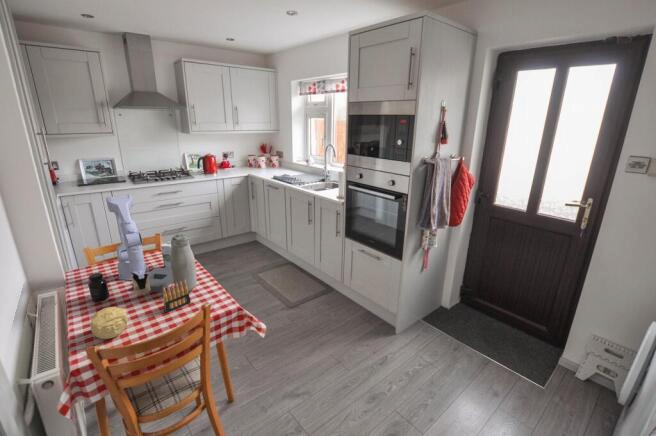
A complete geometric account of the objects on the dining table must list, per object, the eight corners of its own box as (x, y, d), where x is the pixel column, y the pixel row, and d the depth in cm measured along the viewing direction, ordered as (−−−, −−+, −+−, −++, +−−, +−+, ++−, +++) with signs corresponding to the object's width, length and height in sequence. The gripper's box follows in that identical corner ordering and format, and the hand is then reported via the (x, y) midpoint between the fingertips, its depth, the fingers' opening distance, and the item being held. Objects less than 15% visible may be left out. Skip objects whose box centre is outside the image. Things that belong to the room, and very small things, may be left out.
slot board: (133, 289, 154) (132, 284, 153) (156, 272, 171) (156, 267, 170) (160, 292, 152) (159, 287, 151) (181, 274, 169) (180, 269, 168)
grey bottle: (201, 289, 155) (195, 235, 146) (180, 297, 148) (172, 241, 139) (192, 282, 161) (185, 230, 153) (171, 290, 154) (163, 235, 145)
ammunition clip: (166, 313, 136) (162, 288, 133) (164, 311, 138) (160, 287, 134) (190, 303, 144) (187, 279, 140) (188, 301, 145) (185, 277, 141)
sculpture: (99, 348, 116) (92, 322, 113) (89, 333, 123) (83, 309, 120) (133, 333, 124) (128, 309, 121) (123, 320, 132) (118, 297, 128)
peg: (135, 294, 142) (132, 280, 140) (134, 290, 145) (131, 276, 143) (150, 290, 146) (148, 276, 144) (149, 286, 149) (146, 272, 147)
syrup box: (180, 265, 178) (176, 241, 174) (174, 270, 173) (170, 245, 168) (170, 265, 179) (166, 241, 174) (164, 270, 173) (160, 245, 169)
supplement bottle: (113, 296, 148) (108, 272, 145) (99, 304, 142) (93, 280, 138) (102, 293, 150) (97, 270, 147) (88, 301, 144) (82, 277, 141)
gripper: (149, 262, 138) (154, 290, 142) (143, 251, 148) (148, 277, 153) (130, 267, 134) (136, 295, 138) (126, 255, 144) (131, 281, 149)
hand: (141, 286), depth 145 cm, fingers closed on peg, 4 cm apart
